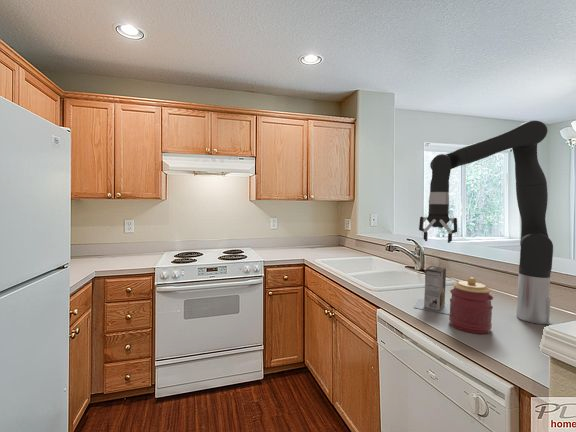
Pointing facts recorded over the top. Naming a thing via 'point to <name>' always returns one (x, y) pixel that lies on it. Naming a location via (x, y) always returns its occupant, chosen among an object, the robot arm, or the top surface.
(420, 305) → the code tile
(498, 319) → the top surface
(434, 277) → the coffee box
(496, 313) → the top surface
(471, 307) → the canister
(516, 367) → the top surface
